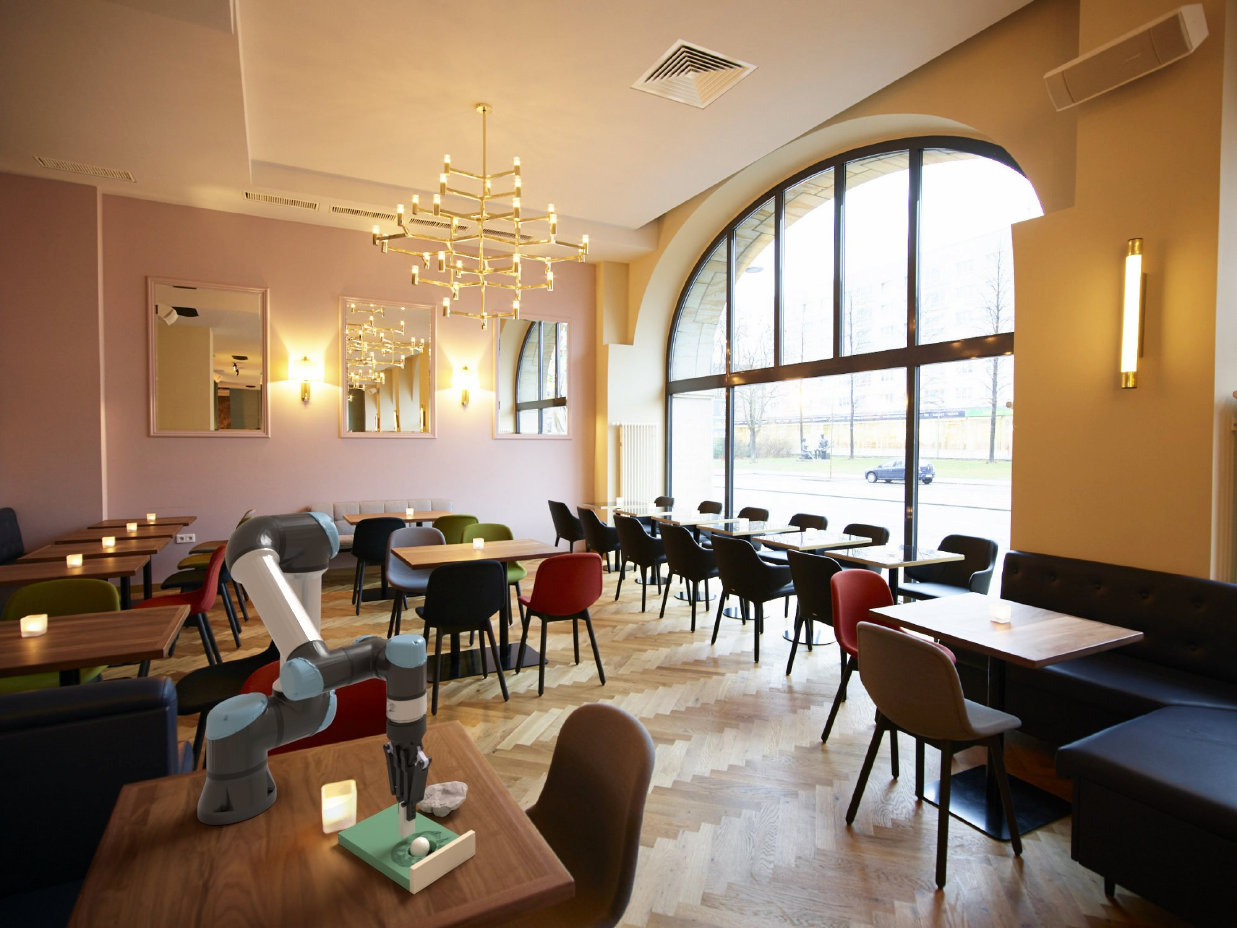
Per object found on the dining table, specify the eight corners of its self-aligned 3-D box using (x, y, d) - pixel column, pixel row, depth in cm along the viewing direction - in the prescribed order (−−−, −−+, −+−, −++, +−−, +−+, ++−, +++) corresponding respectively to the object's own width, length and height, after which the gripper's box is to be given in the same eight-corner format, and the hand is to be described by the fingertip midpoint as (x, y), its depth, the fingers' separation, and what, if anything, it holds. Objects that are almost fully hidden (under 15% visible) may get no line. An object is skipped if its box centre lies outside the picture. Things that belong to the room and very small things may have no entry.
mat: (338, 842, 127) (337, 821, 127) (398, 811, 138) (398, 791, 138) (414, 894, 112) (413, 869, 112) (475, 854, 123) (475, 831, 123)
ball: (407, 861, 122) (404, 841, 122) (423, 851, 125) (420, 832, 125) (418, 863, 120) (415, 843, 120) (434, 853, 122) (431, 834, 123)
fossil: (460, 808, 134) (418, 788, 135) (449, 833, 135) (408, 813, 136) (474, 783, 143) (435, 765, 144) (464, 807, 144) (425, 789, 144)
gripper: (370, 713, 125) (371, 831, 125) (410, 730, 117) (410, 855, 118) (403, 701, 131) (404, 813, 132) (443, 717, 123) (443, 836, 124)
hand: (407, 833), depth 125 cm, fingers closed
